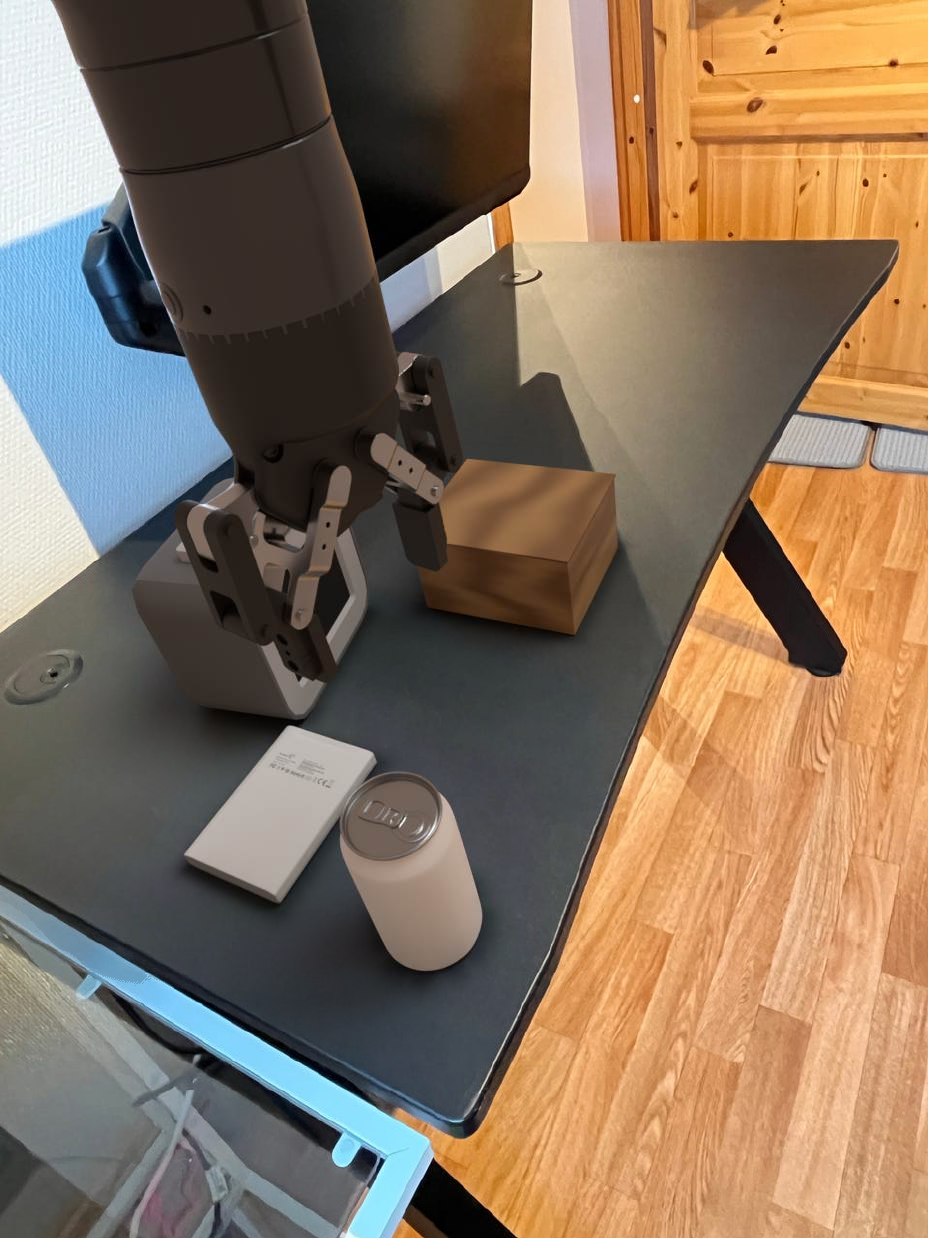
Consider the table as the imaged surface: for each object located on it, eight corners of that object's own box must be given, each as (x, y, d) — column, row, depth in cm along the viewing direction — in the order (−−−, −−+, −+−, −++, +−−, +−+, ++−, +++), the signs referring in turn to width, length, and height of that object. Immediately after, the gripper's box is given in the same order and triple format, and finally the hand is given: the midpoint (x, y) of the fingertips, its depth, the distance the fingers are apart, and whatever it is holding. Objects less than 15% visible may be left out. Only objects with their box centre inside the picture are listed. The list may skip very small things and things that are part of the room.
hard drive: (190, 866, 59) (292, 735, 67) (281, 906, 56) (378, 764, 63) (181, 853, 58) (286, 722, 66) (273, 894, 55) (373, 750, 62)
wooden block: (619, 547, 77) (615, 473, 72) (575, 636, 70) (568, 561, 64) (480, 528, 83) (467, 458, 78) (425, 608, 76) (407, 537, 70)
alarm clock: (298, 735, 67) (230, 586, 56) (180, 717, 70) (95, 574, 60) (374, 599, 78) (329, 453, 67) (269, 590, 81) (210, 451, 71)
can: (450, 993, 49) (408, 886, 42) (362, 947, 52) (307, 840, 45) (502, 900, 53) (472, 787, 45) (417, 863, 56) (375, 750, 48)
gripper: (190, 389, 24) (338, 747, 35) (468, 212, 32) (520, 549, 43) (44, 356, 28) (218, 688, 39) (324, 206, 36) (405, 516, 46)
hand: (376, 615), depth 41 cm, fingers open, 8 cm apart
